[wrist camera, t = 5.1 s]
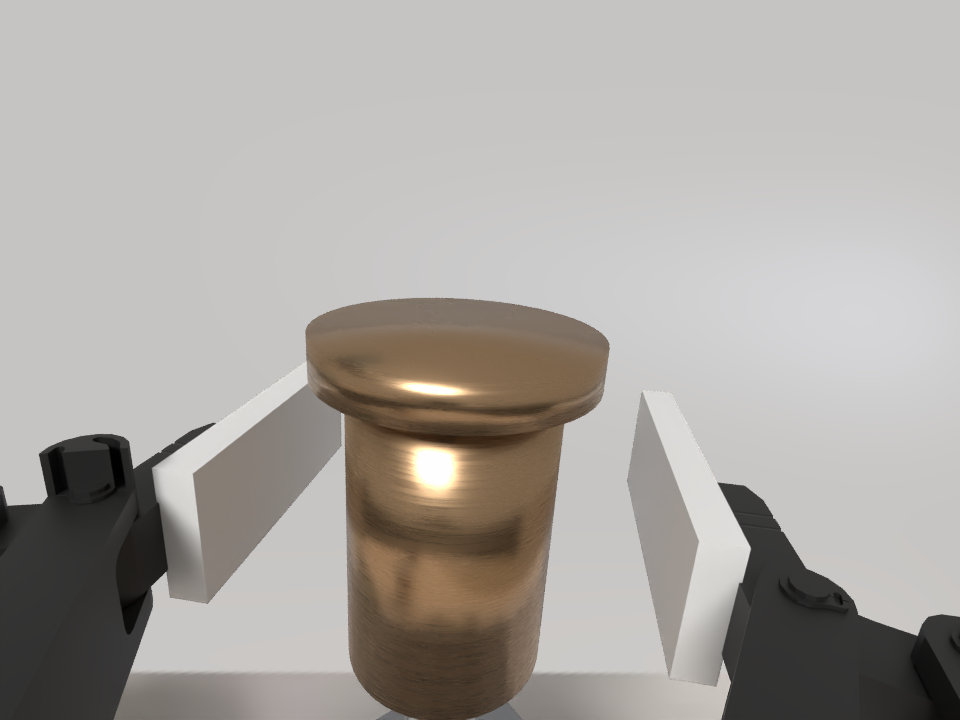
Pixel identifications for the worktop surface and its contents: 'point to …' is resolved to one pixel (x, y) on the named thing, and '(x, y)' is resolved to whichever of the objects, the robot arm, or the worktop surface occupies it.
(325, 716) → the worktop surface
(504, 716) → the press carafe
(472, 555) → the plunger
